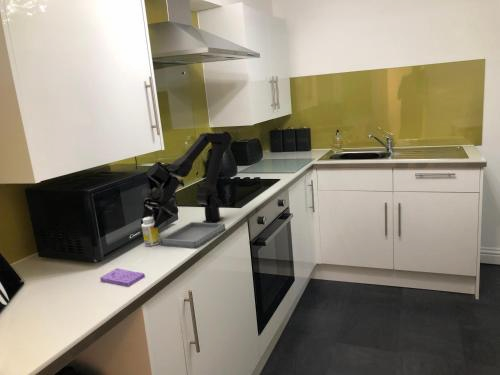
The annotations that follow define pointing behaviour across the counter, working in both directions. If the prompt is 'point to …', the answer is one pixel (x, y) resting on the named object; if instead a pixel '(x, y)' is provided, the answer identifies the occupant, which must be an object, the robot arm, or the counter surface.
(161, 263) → the counter surface
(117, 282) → the sponges
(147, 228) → the supplement bottle
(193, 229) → the tray
